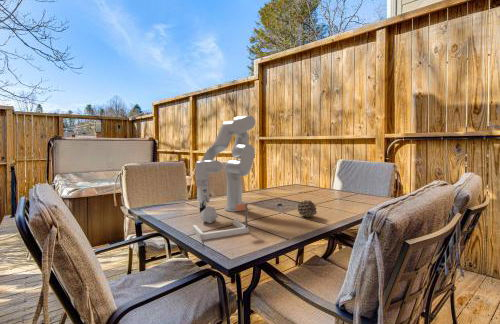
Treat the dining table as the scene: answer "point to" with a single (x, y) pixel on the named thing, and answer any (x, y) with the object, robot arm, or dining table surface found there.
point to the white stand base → (229, 232)
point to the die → (209, 214)
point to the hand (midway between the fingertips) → (203, 214)
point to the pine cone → (306, 208)
